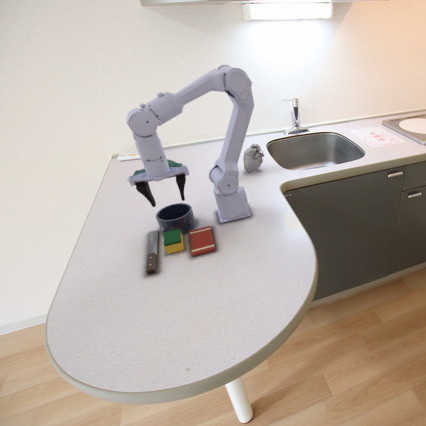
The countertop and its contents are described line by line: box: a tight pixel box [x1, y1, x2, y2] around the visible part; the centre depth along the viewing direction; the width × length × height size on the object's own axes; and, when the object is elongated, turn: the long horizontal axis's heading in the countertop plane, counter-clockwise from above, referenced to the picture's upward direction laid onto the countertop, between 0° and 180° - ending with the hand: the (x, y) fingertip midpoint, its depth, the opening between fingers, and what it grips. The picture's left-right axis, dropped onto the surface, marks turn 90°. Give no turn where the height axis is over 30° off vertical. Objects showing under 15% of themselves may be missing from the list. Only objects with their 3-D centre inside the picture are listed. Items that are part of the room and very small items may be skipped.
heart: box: [242, 143, 265, 174], centre depth 126 cm, size 10×10×12 cm
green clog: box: [132, 158, 184, 176], centre depth 130 cm, size 9×20×5 cm, turn 114°
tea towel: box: [189, 225, 216, 258], centre depth 89 cm, size 6×12×1 cm, turn 23°
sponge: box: [163, 229, 185, 255], centre depth 87 cm, size 4×6×3 cm
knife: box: [145, 230, 159, 276], centre depth 85 cm, size 2×20×2 cm, turn 23°
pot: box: [155, 202, 197, 236], centre depth 94 cm, size 10×10×6 cm
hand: (169, 202), depth 88 cm, fingers open, 7 cm apart
